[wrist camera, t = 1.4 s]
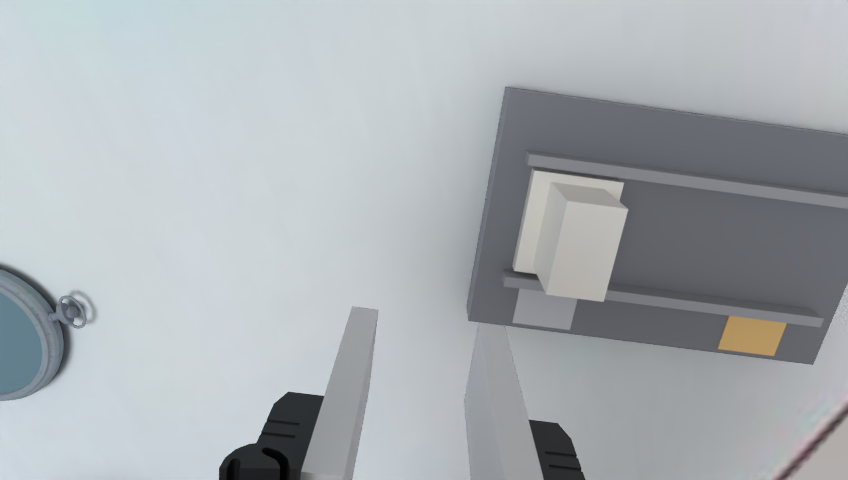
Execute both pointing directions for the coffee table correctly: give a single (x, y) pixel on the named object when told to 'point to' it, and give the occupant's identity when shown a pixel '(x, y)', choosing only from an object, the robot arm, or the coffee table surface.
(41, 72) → the coffee table surface
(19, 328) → the pocket watch
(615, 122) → the switch panel
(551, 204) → the switch tab
